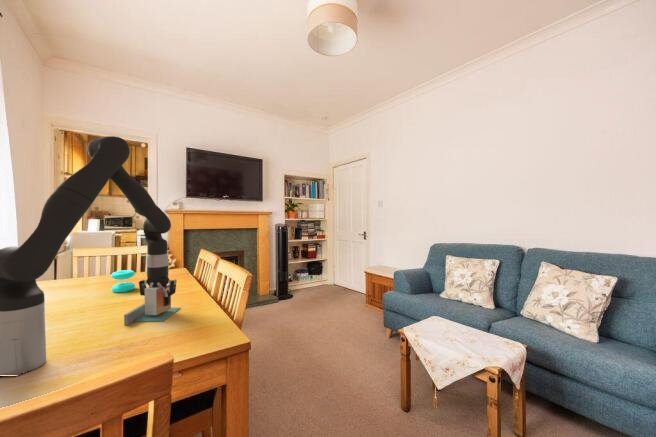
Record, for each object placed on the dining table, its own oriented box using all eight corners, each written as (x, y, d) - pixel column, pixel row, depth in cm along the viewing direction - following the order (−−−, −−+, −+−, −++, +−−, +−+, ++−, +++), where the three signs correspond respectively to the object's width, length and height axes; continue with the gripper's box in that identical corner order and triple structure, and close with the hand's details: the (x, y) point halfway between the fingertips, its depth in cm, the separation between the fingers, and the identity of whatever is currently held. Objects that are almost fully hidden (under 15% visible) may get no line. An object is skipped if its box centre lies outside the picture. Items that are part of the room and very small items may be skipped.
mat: (163, 321, 108) (163, 320, 107) (133, 321, 107) (133, 320, 107) (180, 308, 121) (180, 307, 121) (154, 308, 121) (154, 307, 121)
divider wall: (127, 325, 104) (127, 314, 104) (124, 325, 104) (124, 314, 104) (157, 306, 124) (157, 297, 124) (154, 306, 124) (154, 297, 124)
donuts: (139, 270, 150) (120, 274, 140) (139, 288, 150) (121, 294, 141) (125, 269, 153) (106, 273, 143) (125, 287, 153) (106, 292, 144)
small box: (156, 315, 110) (156, 289, 109) (144, 314, 111) (143, 288, 110) (171, 308, 117) (171, 284, 117) (160, 307, 119) (159, 283, 118)
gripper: (133, 266, 109) (134, 308, 110) (171, 266, 110) (171, 308, 111) (145, 263, 117) (145, 302, 117) (180, 263, 117) (180, 302, 118)
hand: (158, 305), depth 114 cm, fingers closed on small box, 6 cm apart
